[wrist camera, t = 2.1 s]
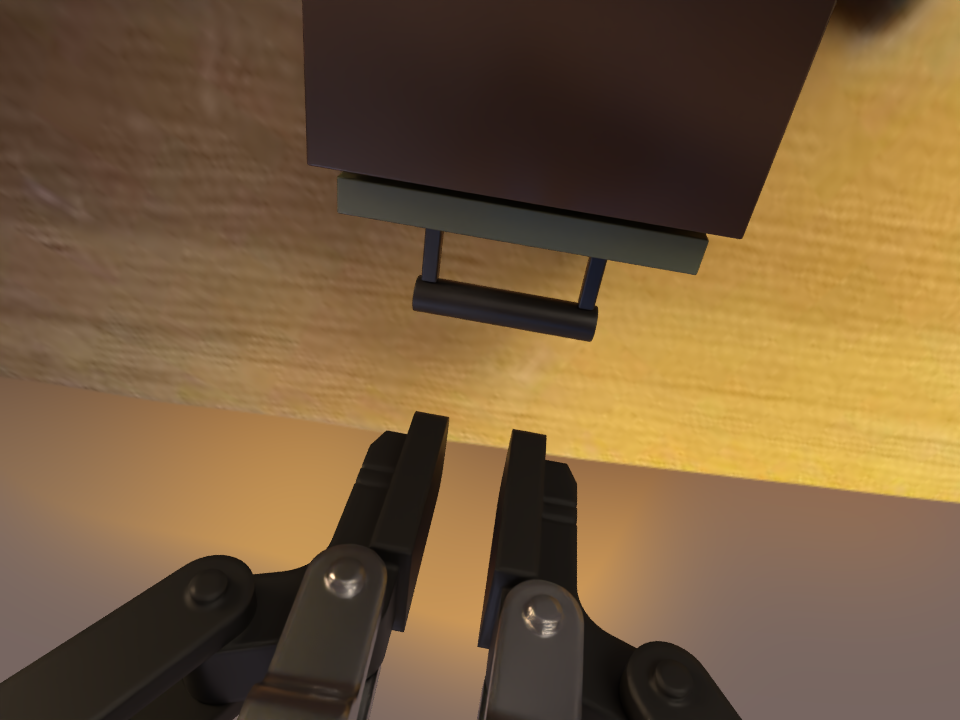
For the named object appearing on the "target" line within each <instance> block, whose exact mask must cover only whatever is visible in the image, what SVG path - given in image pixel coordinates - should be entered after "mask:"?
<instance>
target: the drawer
mask: <svg viewBox="0 0 960 720" xmlns="http://www.w3.org/2000/svg"><path fill="white" fill-rule="evenodd" d="M337 212H338V213H341V214H347V215H353V216H359V217H364V218H370V219H376V220H382V221H387V222H393V223H399V224H405V225H410V226H416V227H422V228H426V230H425V242H424V254H423V266H422V275H419V276H418V278H417V280H416V283H415V287H414V293H413V301H412V307H413V310H414V311H419V312H425V313H431V314H436V315H442V316H447V317H453V318H459V319H464V320H470V321H476V322H481V323H487V324H492V325H498V326H504V327H509V328H515V329H520V330H526V331H532V332H537V333H543V334H548V335H554V336H560V337H565V338H571V339H577V340H582V341H588V342H591V341H592V339H593V337H594V334H595V330H596V325H597V319H598V307H597V306H595V303H596V299H597V296H598V292H599V288H600V285H601V281H602V277H603V274H604V270H605V266H606V262H607V260H612V261H618V262H623V263H629V264H635V265H641V266H646V267H652V268H658V269H664V270H669V271H675V272H681V273H687V274H692V275H696V274H697V272H698V270H699V267H700V264H701V261H702V259H703V256H704V253H705V250H706V248H707V245H708V242H709V240H708V237H707V235H706V233H701V232H695V231H689V230H684V229H678V228H672V227H666V226H660V225H655V224H649V223H643V222H637V221H631V220H625V219H620V218H614V217H608V216H602V215H596V214H590V213H585V212H579V211H573V210H567V209H561V208H555V207H550V206H544V205H538V204H532V203H526V202H520V201H515V200H509V199H503V198H497V197H491V196H485V195H480V194H474V193H468V192H462V191H456V190H450V189H445V188H439V187H433V186H427V185H421V184H415V183H410V182H404V181H398V180H392V179H386V178H380V177H375V176H369V175H363V174H357V173H351V172H345V171H343V172H342V173H341V174H340V175H339V176H338V177H337ZM444 231H445V232H451V233H456V234H462V235H468V236H474V237H479V238H485V239H491V240H497V241H502V242H508V243H514V244H520V245H525V246H531V247H537V248H543V249H548V250H554V251H560V252H566V253H571V254H577V255H583V256H589V259H588V263H587V267H586V271H585V275H584V279H583V283H582V287H581V291H580V295H579V299H578V303H577V302H571V301H565V300H560V299H554V298H548V297H543V296H537V295H531V294H526V293H520V292H514V291H509V290H503V289H497V288H492V287H486V286H480V285H475V284H469V283H463V282H458V281H452V280H446V279H441V278H439V273H440V263H441V253H442V243H443V233H444Z"/></svg>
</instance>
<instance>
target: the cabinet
mask: <svg viewBox="0 0 960 720" xmlns="http://www.w3.org/2000/svg"><path fill="white" fill-rule="evenodd" d="M836 2H837V0H302V10H303V42H304V75H305V108H306V141H307V164H308V165H310V166H316V167H322V168H328V169H334V170H340V171H345V172H351V173H357V174H363V175H369V176H375V177H380V178H386V179H392V180H398V181H404V182H410V183H415V184H421V185H427V186H433V187H439V188H445V189H450V190H456V191H462V192H468V193H474V194H480V195H485V196H491V197H497V198H503V199H509V200H515V201H520V202H526V203H532V204H538V205H544V206H550V207H555V208H561V209H567V210H573V211H579V212H585V213H590V214H596V215H602V216H608V217H614V218H620V219H625V220H631V221H637V222H643V223H649V224H655V225H660V226H666V227H672V228H678V229H684V230H689V231H695V232H701V233H707V234H713V235H719V236H724V237H730V238H736V239H742V238H743V236H744V233H745V231H746V228H747V226H748V223H749V221H750V218H751V216H752V213H753V211H754V208H755V206H756V203H757V201H758V198H759V196H760V193H761V191H762V188H763V186H764V183H765V180H766V178H767V175H768V173H769V170H770V168H771V165H772V163H773V160H774V158H775V155H776V153H777V150H778V148H779V145H780V143H781V140H782V138H783V135H784V133H785V130H786V128H787V125H788V123H789V120H790V118H791V115H792V113H793V110H794V108H795V105H796V102H797V100H798V97H799V95H800V92H801V90H802V87H803V85H804V82H805V80H806V77H807V75H808V72H809V70H810V67H811V65H812V62H813V60H814V57H815V55H816V52H817V50H818V47H819V45H820V42H821V40H822V37H823V35H824V32H825V30H826V27H827V24H828V22H829V19H830V17H831V14H832V12H833V9H834V7H835V4H836Z"/></svg>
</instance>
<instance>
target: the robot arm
mask: <svg viewBox="0 0 960 720" xmlns="http://www.w3.org/2000/svg"><path fill="white" fill-rule="evenodd" d="M448 426H449V417H446V416H440V415H435V414H429V413H424V412H418V411H416V412H415V414H414V416H413V419H412V422H411V425H410V428H409V431H408V434H403V433H398V432H392V431H385V432H384V433H383V434H382V435H381V436H380V437H379V438H378V439H377V440H376V441H374V442H373V443H372V444H371V445H370V447H369V449H368V452H367V455H366V457H365V459H364V462H363V464H362V468H361V469H360V472H359V474H358V477H357V479H356V483H355V484H354V486H353V489H352V491H351V494H350V496H349V499H348V501H347V504H346V506H345V509H344V511H343V514H342V516H341V518H340V521H339V523H338V526H337V528H336V531H335V534H334V536H333V538H332V540H331V542H330V544H329V546H328V547H327V549H326V550H324V551H322V552H321V553H320V554H318V555H317V556H316V557H315V558H314V559H313V560H312V561H311V562H310V563H309V564H307V565H305V566H302V567H300V568H297V569H293V570H289V571H282V572H274V573H263V574H252V572H251V570H250V568H249V567H248V566H247V565H246V564H245V563H244V562H243V561H241V560H239V559H237V558H234V557H231V556H226V555H213V556H206V557H203V558H199V559H197V560H194V561H192V562H190V563H189V564H187V565H185V566H184V567H182V568H180V569H179V570H177V571H175V572H174V573H172V574H171V575H169V576H168V577H166V578H164V579H163V580H161V581H160V582H158V583H157V584H155V585H154V586H152V587H150V588H149V589H147V590H146V591H144V592H143V593H141V594H140V595H138V596H136V597H135V598H133V599H132V600H130V601H129V602H127V603H125V604H124V605H122V606H121V607H119V608H118V609H116V610H114V611H113V612H111V613H110V614H108V615H107V616H105V617H103V618H102V619H100V620H99V621H97V622H96V623H94V624H92V625H91V626H89V627H88V628H86V629H85V630H83V631H82V632H80V633H78V634H77V635H75V636H74V637H72V638H71V639H69V640H67V641H66V642H64V643H63V644H61V645H60V646H58V647H56V648H55V649H53V650H52V651H50V652H49V653H47V654H46V655H44V656H42V657H41V658H39V659H38V660H36V661H35V662H33V663H32V664H30V665H29V666H27V667H25V668H24V669H22V670H20V671H19V672H17V673H16V674H14V675H13V676H11V677H9V678H8V679H6V680H5V681H3V682H2V683H0V720H233V719H234V718H235V717H236V716H238V715H239V716H238V719H237V720H369V717H370V713H371V708H372V704H373V700H374V695H375V691H376V687H377V682H378V677H379V674H380V669H381V663H382V662H383V659H384V656H385V653H386V649H387V645H388V641H389V637H390V634H391V630H395V631H400V632H404V630H405V626H406V621H407V618H408V613H409V610H410V605H411V601H412V597H413V593H414V589H415V585H416V581H417V577H418V573H419V569H420V565H421V561H422V557H423V553H424V549H425V545H426V541H427V537H428V533H429V529H430V525H431V521H432V517H433V513H434V509H435V505H436V501H437V497H438V492H439V488H440V483H441V477H442V470H443V464H444V456H445V449H446V441H447V434H448ZM545 455H546V435H543V434H538V433H532V432H527V431H521V430H516V429H513V430H512V434H511V438H510V443H509V448H508V453H507V457H506V462H505V467H504V472H503V477H502V482H501V487H500V492H499V498H498V504H497V511H496V519H495V525H494V532H493V539H492V547H491V554H490V561H489V568H488V576H487V583H486V589H485V596H484V604H483V611H482V618H481V625H480V632H479V639H478V647H481V648H486V649H489V653H488V661H487V669H486V676H485V680H484V684H483V688H482V693H481V699H480V705H479V711H478V717H477V720H742V719H741V718H740V716H739V715H738V714H737V712H736V711H735V709H734V708H733V707H732V705H731V704H730V702H729V701H728V700H727V698H726V697H725V696H724V694H723V693H722V692H721V690H720V689H719V687H718V686H717V685H716V683H715V682H714V680H713V679H712V678H711V676H710V675H709V673H708V672H707V671H706V669H705V668H704V667H703V666H702V664H701V663H700V662H699V661H698V660H697V659H696V658H695V657H694V656H693V655H692V654H690V653H689V652H688V651H686V650H685V649H683V648H681V647H679V646H677V645H674V644H672V643H668V642H662V641H655V642H649V643H645V644H643V645H641V646H639V647H638V648H635V647H633V646H631V645H629V644H627V643H625V642H624V641H622V640H620V639H618V638H616V637H614V636H612V635H610V634H609V633H607V632H605V631H604V630H602V629H601V628H600V627H599V626H597V625H596V624H595V623H594V622H593V621H592V620H591V619H590V617H589V616H588V615H587V614H586V612H585V611H584V609H583V607H582V605H581V603H580V600H579V597H578V593H577V525H576V523H577V508H576V506H577V483H576V481H575V479H574V477H573V475H572V473H571V471H570V469H569V467H568V465H567V464H565V463H560V462H554V461H549V460H545Z"/></svg>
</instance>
